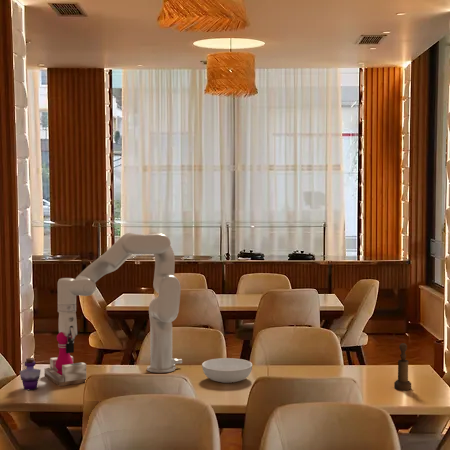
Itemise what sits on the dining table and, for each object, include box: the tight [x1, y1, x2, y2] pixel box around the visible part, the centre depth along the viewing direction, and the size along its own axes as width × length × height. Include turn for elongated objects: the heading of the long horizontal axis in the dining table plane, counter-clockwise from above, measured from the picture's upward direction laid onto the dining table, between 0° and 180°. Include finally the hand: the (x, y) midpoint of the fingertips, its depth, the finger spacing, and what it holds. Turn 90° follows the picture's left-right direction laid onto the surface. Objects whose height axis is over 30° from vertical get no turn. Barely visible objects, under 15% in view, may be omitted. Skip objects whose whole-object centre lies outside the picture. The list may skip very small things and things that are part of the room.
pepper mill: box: [56, 332, 74, 375], centre depth 319 cm, size 7×7×20 cm
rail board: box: [44, 355, 87, 387], centre depth 319 cm, size 12×18×8 cm, turn 32°
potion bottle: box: [19, 357, 41, 391], centre depth 305 cm, size 9×9×12 cm
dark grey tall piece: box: [393, 342, 412, 391], centre depth 304 cm, size 7×6×18 cm
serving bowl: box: [201, 357, 253, 384], centre depth 318 cm, size 21×21×7 cm
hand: (67, 350), depth 319 cm, fingers open, 5 cm apart
